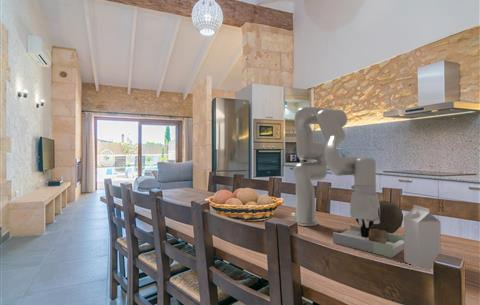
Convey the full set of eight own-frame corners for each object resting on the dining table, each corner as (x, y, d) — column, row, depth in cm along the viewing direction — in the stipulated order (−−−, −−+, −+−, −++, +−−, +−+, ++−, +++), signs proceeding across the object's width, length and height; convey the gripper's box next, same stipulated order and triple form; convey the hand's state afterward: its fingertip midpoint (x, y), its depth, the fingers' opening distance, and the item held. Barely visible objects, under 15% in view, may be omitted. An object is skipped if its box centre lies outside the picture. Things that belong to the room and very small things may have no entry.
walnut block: (368, 242, 102) (368, 230, 102) (373, 240, 105) (373, 228, 105) (381, 245, 98) (381, 233, 98) (386, 242, 101) (386, 230, 101)
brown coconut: (386, 241, 110) (386, 205, 110) (359, 232, 123) (359, 199, 123) (410, 237, 115) (410, 202, 116) (381, 228, 129) (381, 197, 129)
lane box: (332, 242, 110) (332, 232, 110) (351, 234, 120) (351, 225, 120) (391, 257, 93) (391, 246, 93) (406, 247, 104) (406, 236, 104)
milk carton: (424, 261, 90) (424, 204, 90) (441, 270, 83) (440, 208, 83) (403, 261, 90) (403, 204, 90) (418, 271, 83) (418, 209, 83)
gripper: (342, 188, 108) (342, 234, 108) (381, 192, 97) (381, 243, 97) (351, 187, 113) (351, 230, 113) (389, 190, 102) (389, 239, 102)
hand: (365, 236), depth 105 cm, fingers closed
